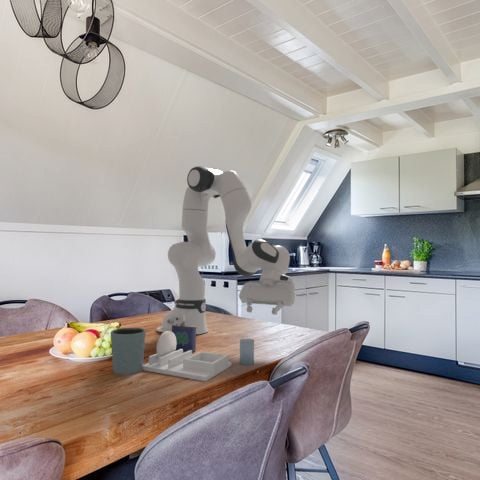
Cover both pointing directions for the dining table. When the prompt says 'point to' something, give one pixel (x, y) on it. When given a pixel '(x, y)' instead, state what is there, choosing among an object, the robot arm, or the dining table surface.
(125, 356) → the green cup
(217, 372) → the rack
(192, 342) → the blue printed box
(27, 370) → the dining table surface
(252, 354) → the grey upright block
